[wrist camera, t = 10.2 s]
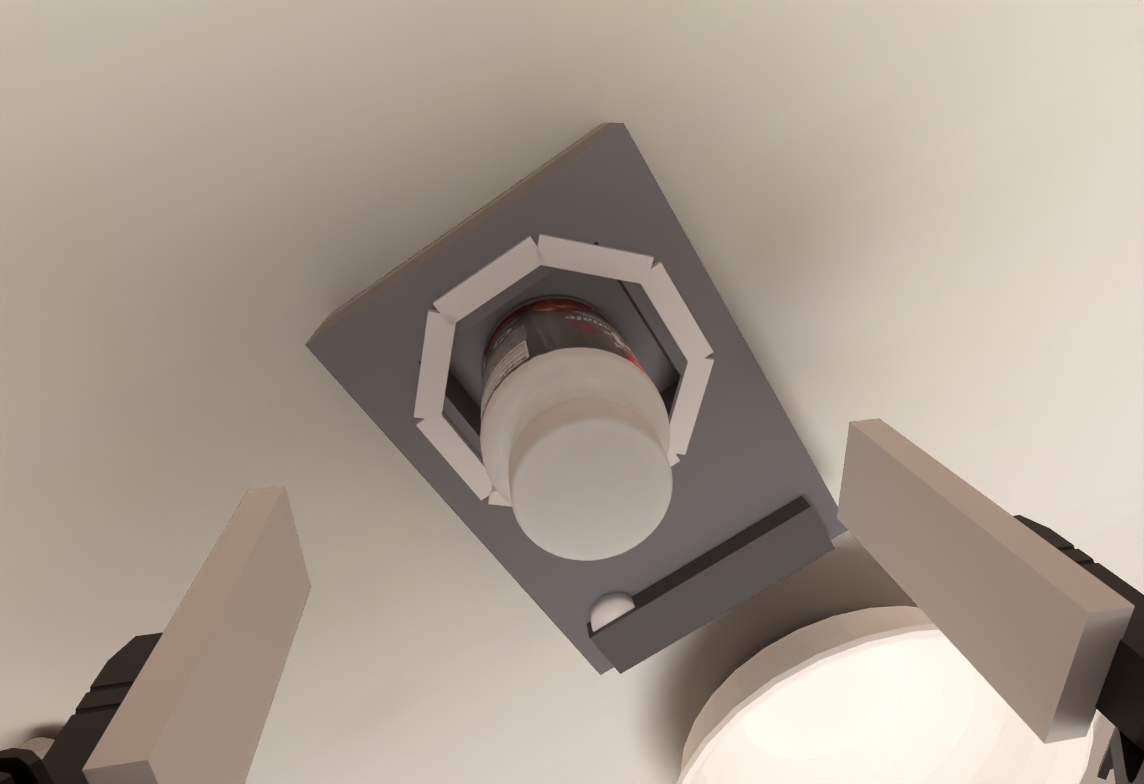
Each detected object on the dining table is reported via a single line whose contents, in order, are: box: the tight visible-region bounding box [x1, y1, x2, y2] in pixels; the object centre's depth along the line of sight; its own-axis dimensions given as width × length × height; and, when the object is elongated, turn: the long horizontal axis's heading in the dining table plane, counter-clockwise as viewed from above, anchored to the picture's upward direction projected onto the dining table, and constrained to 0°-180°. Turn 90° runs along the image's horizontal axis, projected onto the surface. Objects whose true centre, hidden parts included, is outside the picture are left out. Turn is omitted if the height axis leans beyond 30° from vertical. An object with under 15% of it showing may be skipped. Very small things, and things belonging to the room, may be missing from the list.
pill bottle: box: [480, 296, 673, 561], centre depth 20 cm, size 5×5×10 cm
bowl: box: [677, 606, 1093, 784], centre depth 32 cm, size 20×20×6 cm
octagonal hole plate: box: [306, 123, 847, 675], centre depth 25 cm, size 18×12×4 cm, turn 33°
